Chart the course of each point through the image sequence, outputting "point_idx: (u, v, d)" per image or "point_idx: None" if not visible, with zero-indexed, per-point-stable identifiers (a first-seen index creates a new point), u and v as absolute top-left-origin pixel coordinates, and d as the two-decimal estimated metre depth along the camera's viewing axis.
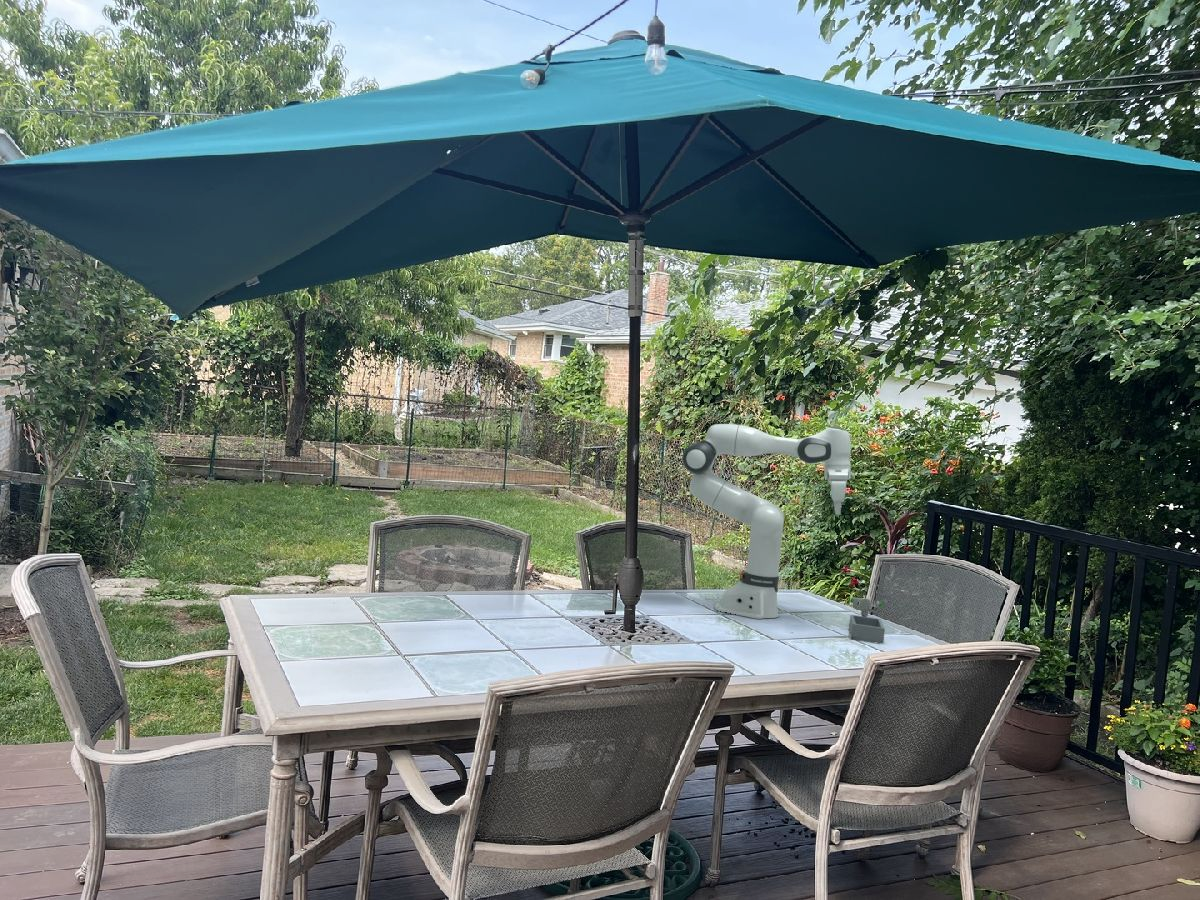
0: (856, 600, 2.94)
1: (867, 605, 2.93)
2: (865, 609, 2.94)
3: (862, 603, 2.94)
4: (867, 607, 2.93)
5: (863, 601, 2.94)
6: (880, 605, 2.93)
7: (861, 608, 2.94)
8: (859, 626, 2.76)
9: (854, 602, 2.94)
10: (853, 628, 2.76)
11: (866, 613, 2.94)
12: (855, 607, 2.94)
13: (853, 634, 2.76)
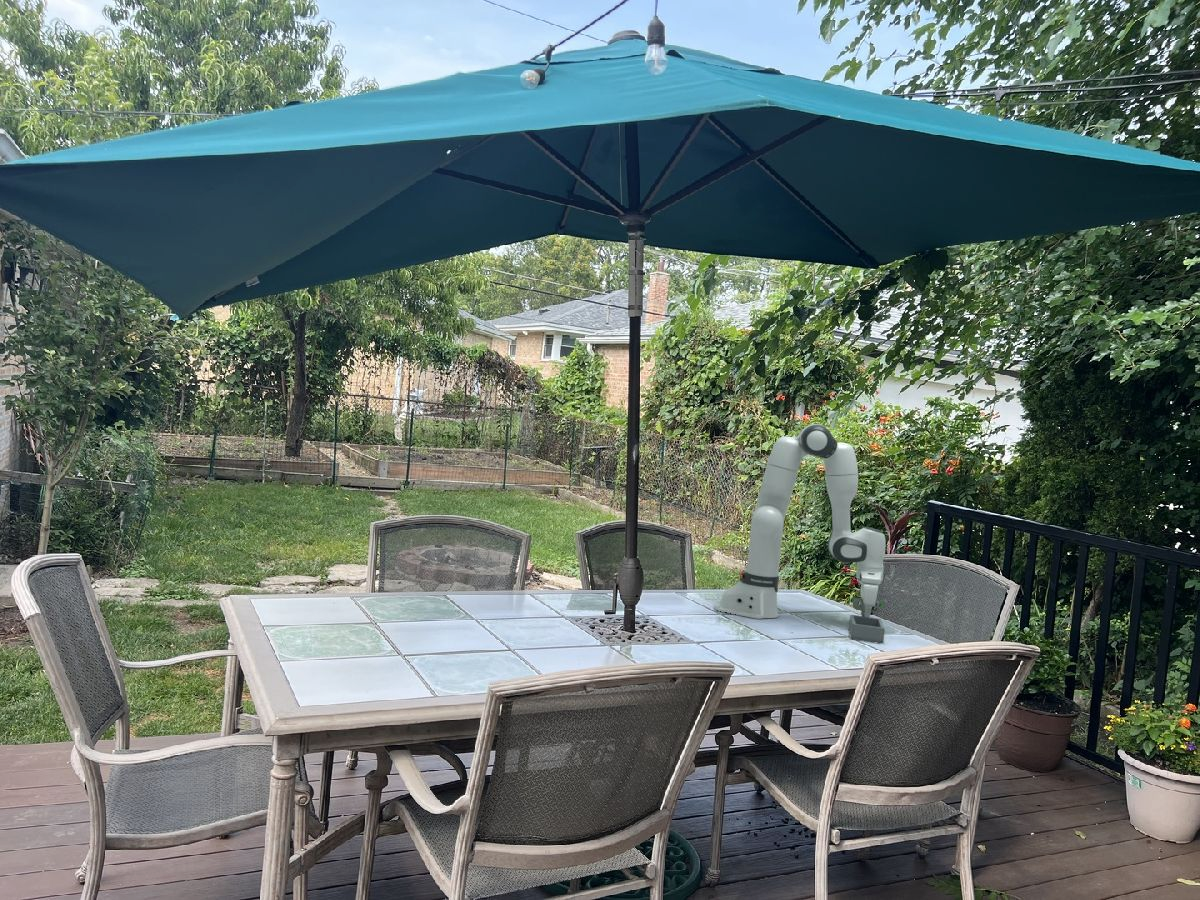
0: (856, 600, 2.94)
1: None
2: None
3: (862, 603, 2.94)
4: None
5: None
6: (880, 605, 2.93)
7: (861, 608, 2.94)
8: (859, 626, 2.76)
9: (854, 602, 2.94)
10: (853, 628, 2.76)
11: None
12: (855, 607, 2.94)
13: (853, 634, 2.76)
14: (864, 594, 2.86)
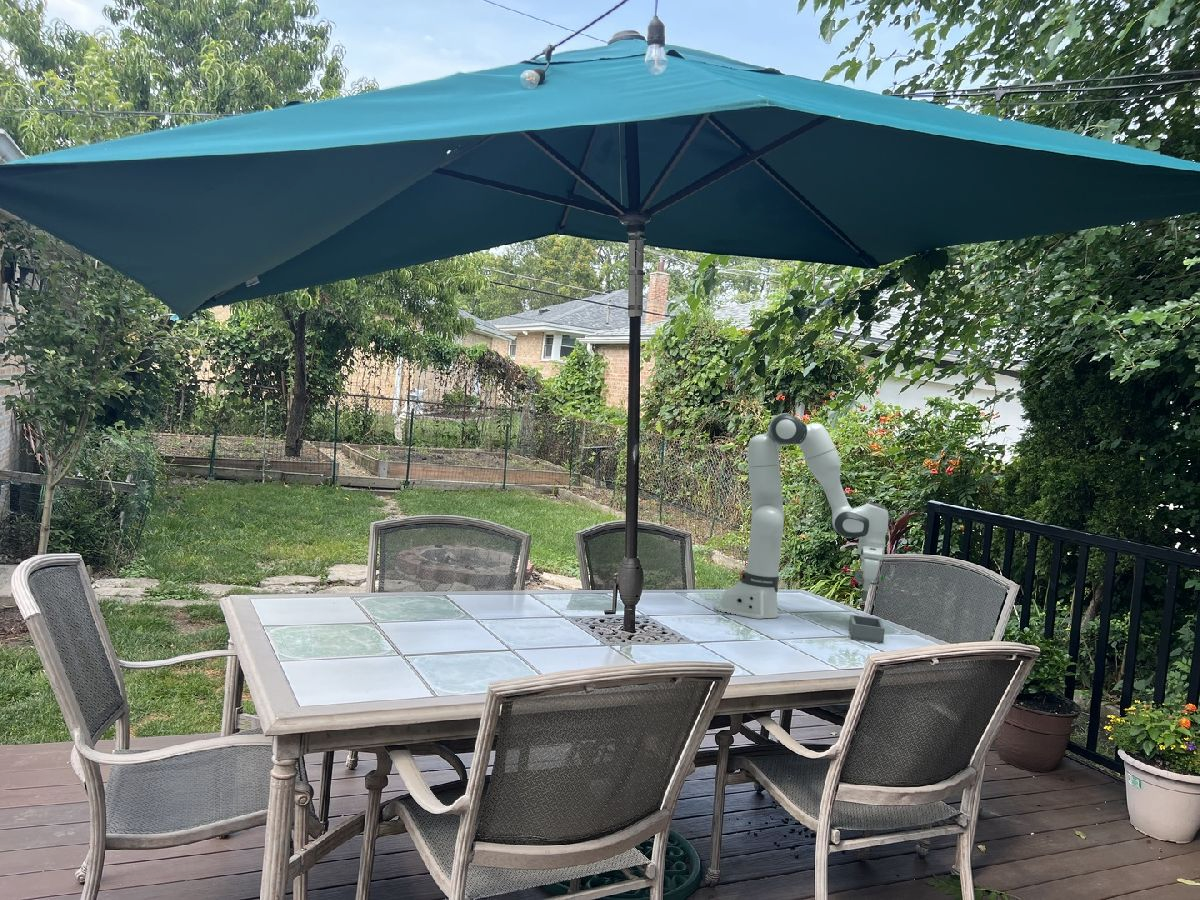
0: (858, 573, 2.94)
1: None
2: None
3: None
4: None
5: None
6: (882, 579, 2.93)
7: (863, 581, 2.94)
8: (859, 626, 2.76)
9: (856, 575, 2.94)
10: (853, 628, 2.76)
11: None
12: (857, 580, 2.94)
13: (853, 634, 2.76)
14: (865, 569, 2.85)
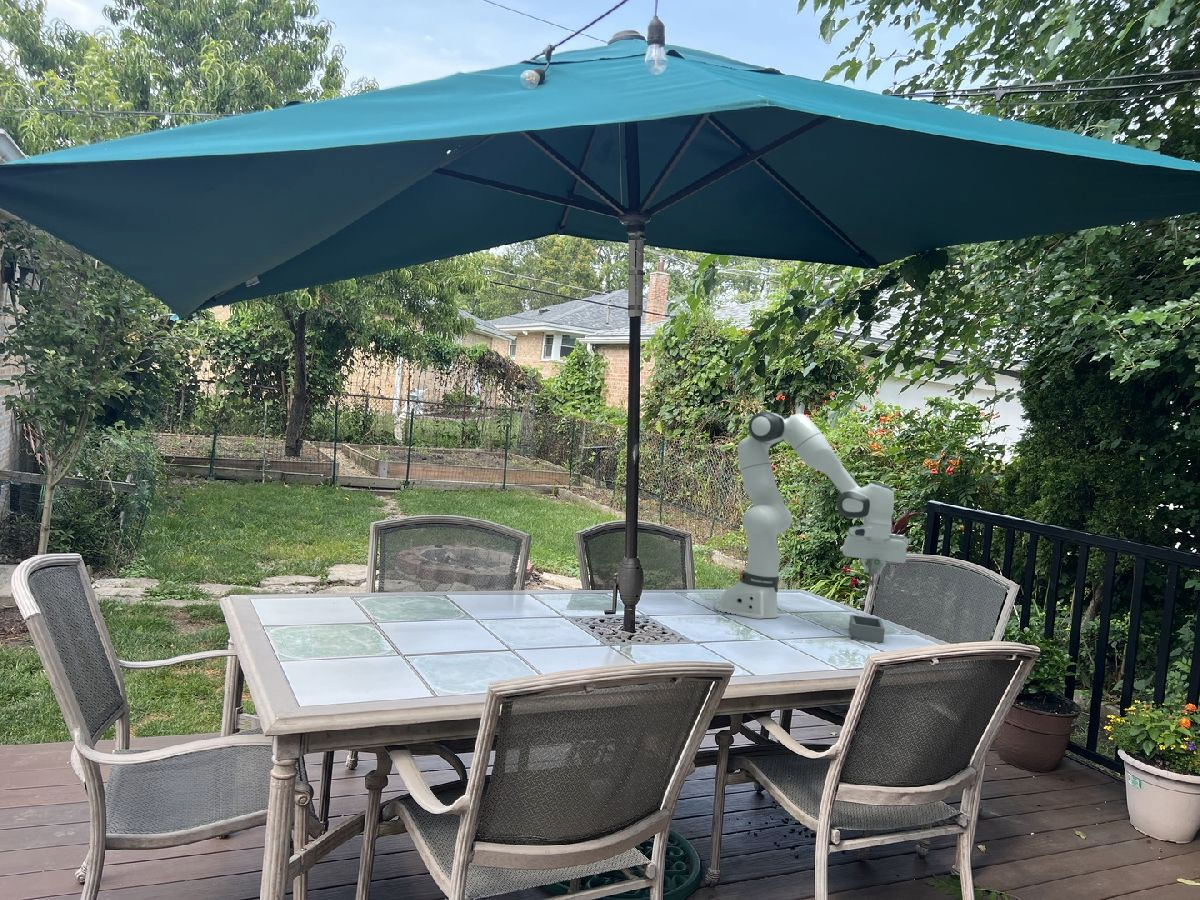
0: None
1: (869, 561, 2.82)
2: (868, 565, 2.83)
3: None
4: (869, 563, 2.82)
5: None
6: (874, 562, 2.78)
7: (868, 564, 2.84)
8: (859, 626, 2.76)
9: None
10: (853, 628, 2.76)
11: (869, 570, 2.82)
12: (867, 563, 2.86)
13: (853, 634, 2.76)
14: None
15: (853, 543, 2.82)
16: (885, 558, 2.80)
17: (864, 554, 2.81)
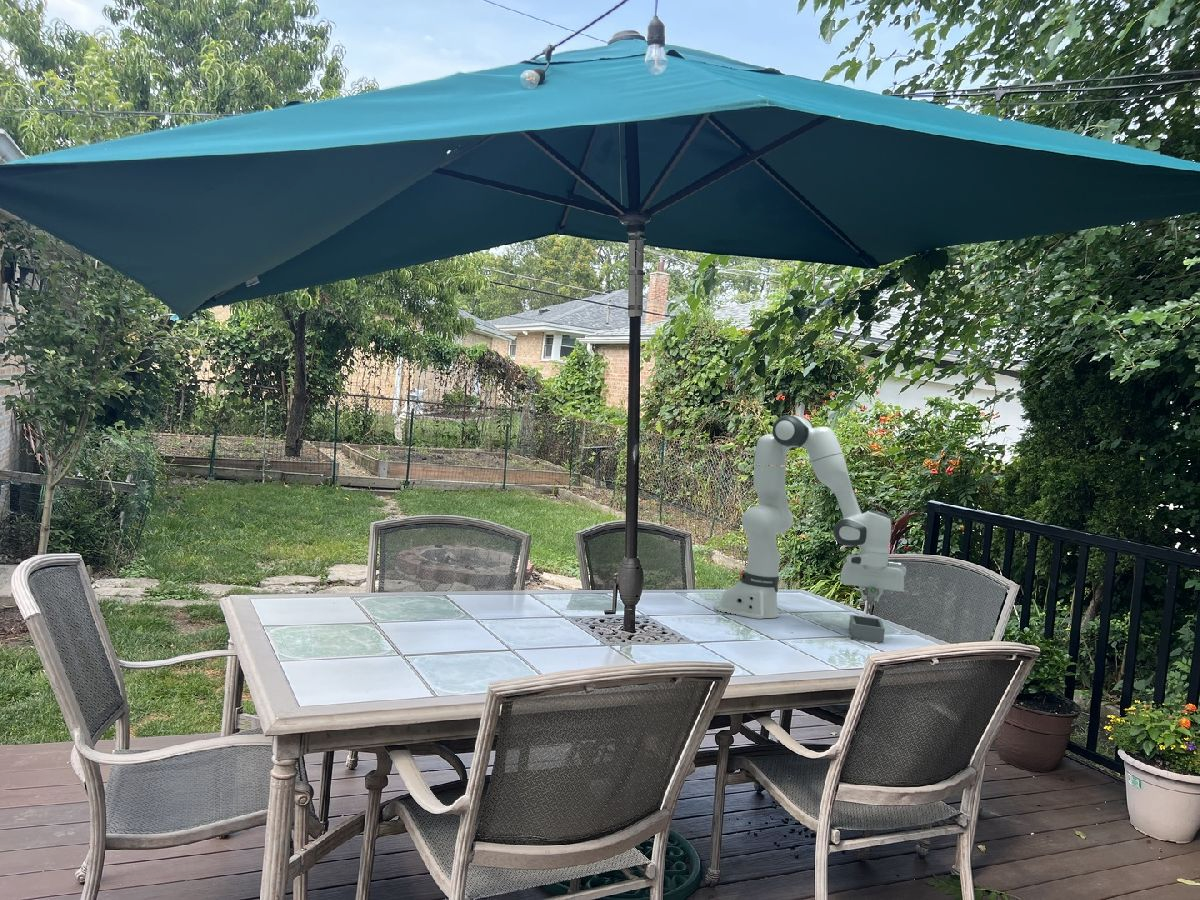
0: None
1: (867, 589, 2.81)
2: (866, 593, 2.82)
3: None
4: (866, 591, 2.81)
5: None
6: (870, 590, 2.77)
7: (866, 592, 2.83)
8: (859, 626, 2.76)
9: None
10: (853, 628, 2.76)
11: (867, 598, 2.82)
12: (865, 591, 2.85)
13: (853, 634, 2.76)
14: None
15: (850, 571, 2.82)
16: (882, 586, 2.79)
17: (861, 582, 2.81)
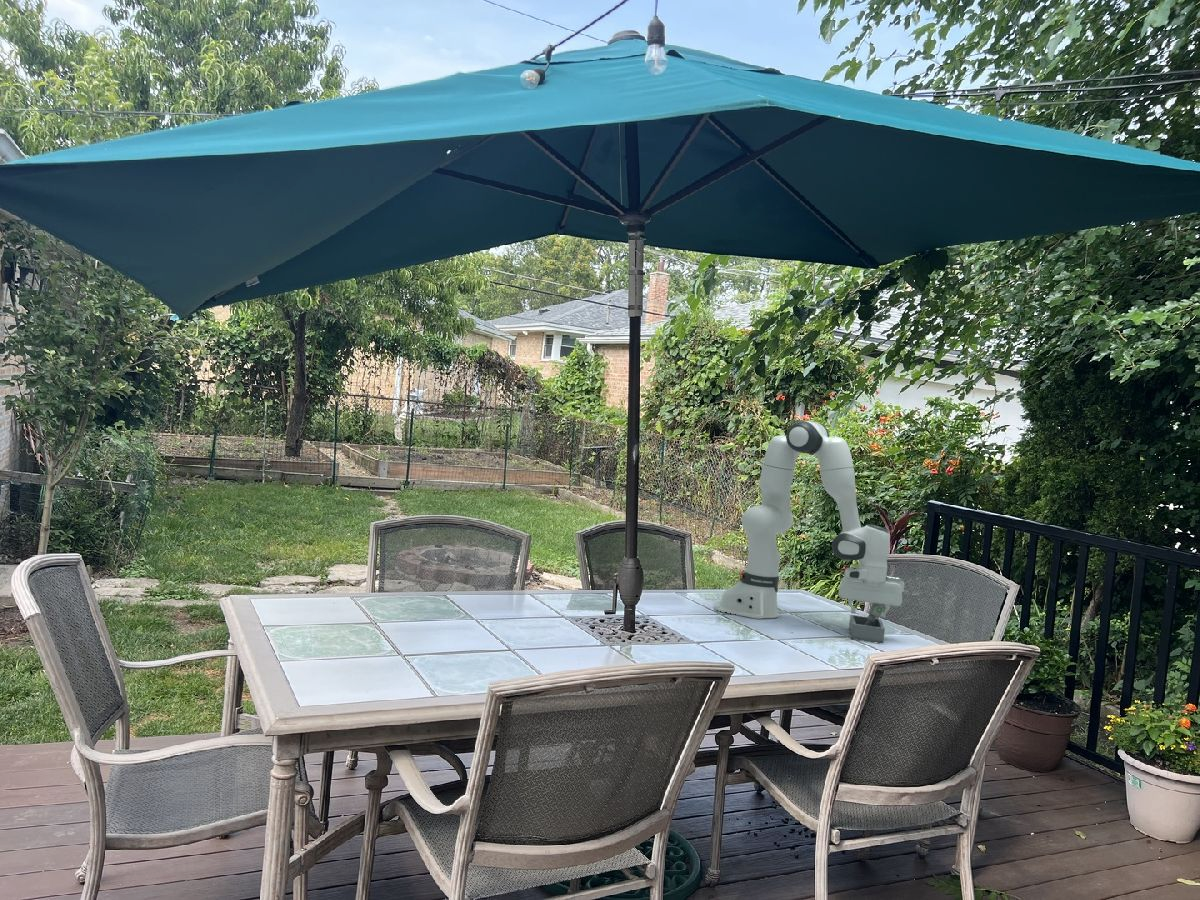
0: (872, 605, 2.86)
1: (872, 608, 2.83)
2: (869, 612, 2.83)
3: None
4: (871, 610, 2.83)
5: (873, 605, 2.84)
6: (876, 609, 2.78)
7: (869, 611, 2.85)
8: (859, 626, 2.76)
9: (871, 606, 2.87)
10: (853, 628, 2.76)
11: (868, 616, 2.83)
12: (869, 611, 2.86)
13: (853, 634, 2.76)
14: None
15: (848, 585, 2.82)
16: (880, 601, 2.80)
17: (859, 597, 2.81)
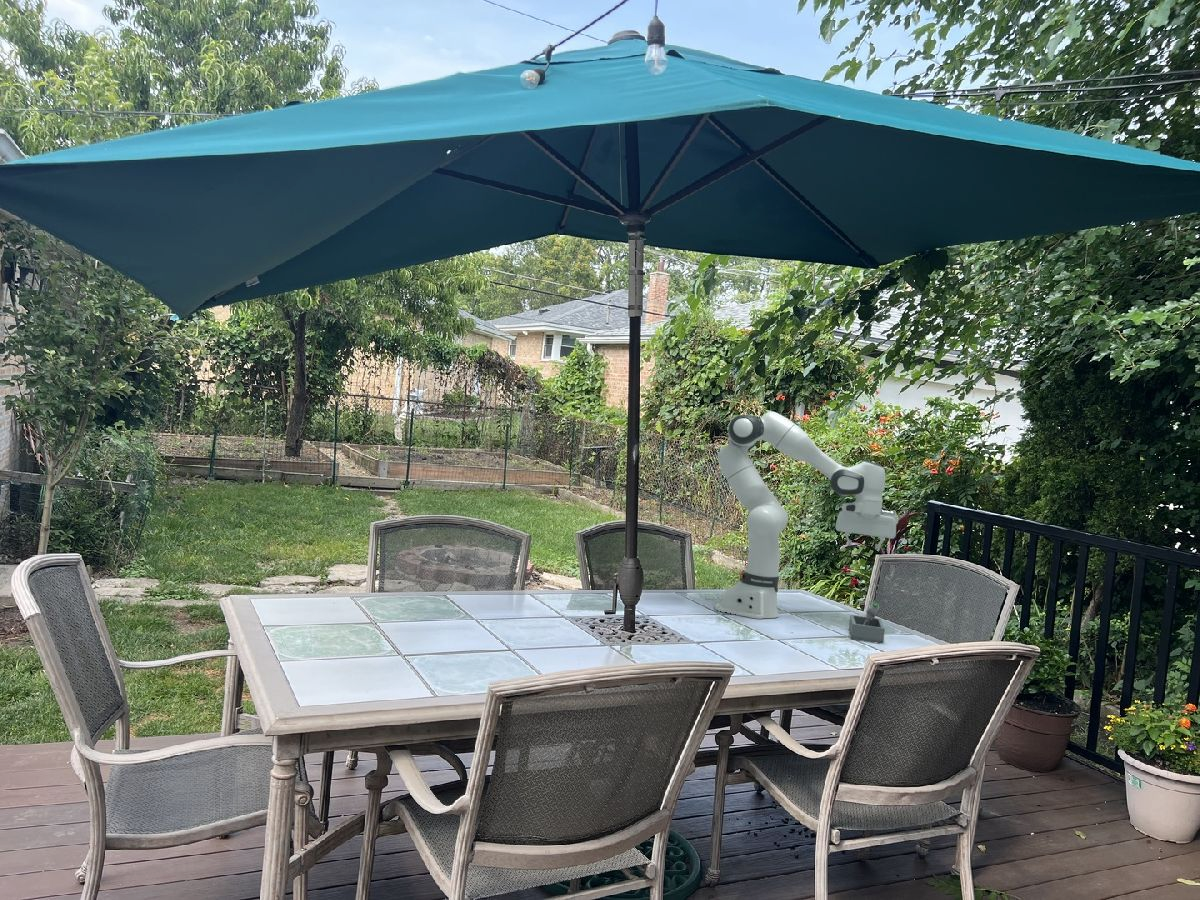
0: None
1: None
2: (867, 612, 2.85)
3: None
4: None
5: None
6: (873, 604, 2.81)
7: None
8: (859, 626, 2.76)
9: None
10: (853, 628, 2.76)
11: (866, 615, 2.84)
12: None
13: (853, 634, 2.76)
14: None
15: (844, 518, 2.95)
16: (875, 533, 2.93)
17: (855, 529, 2.95)
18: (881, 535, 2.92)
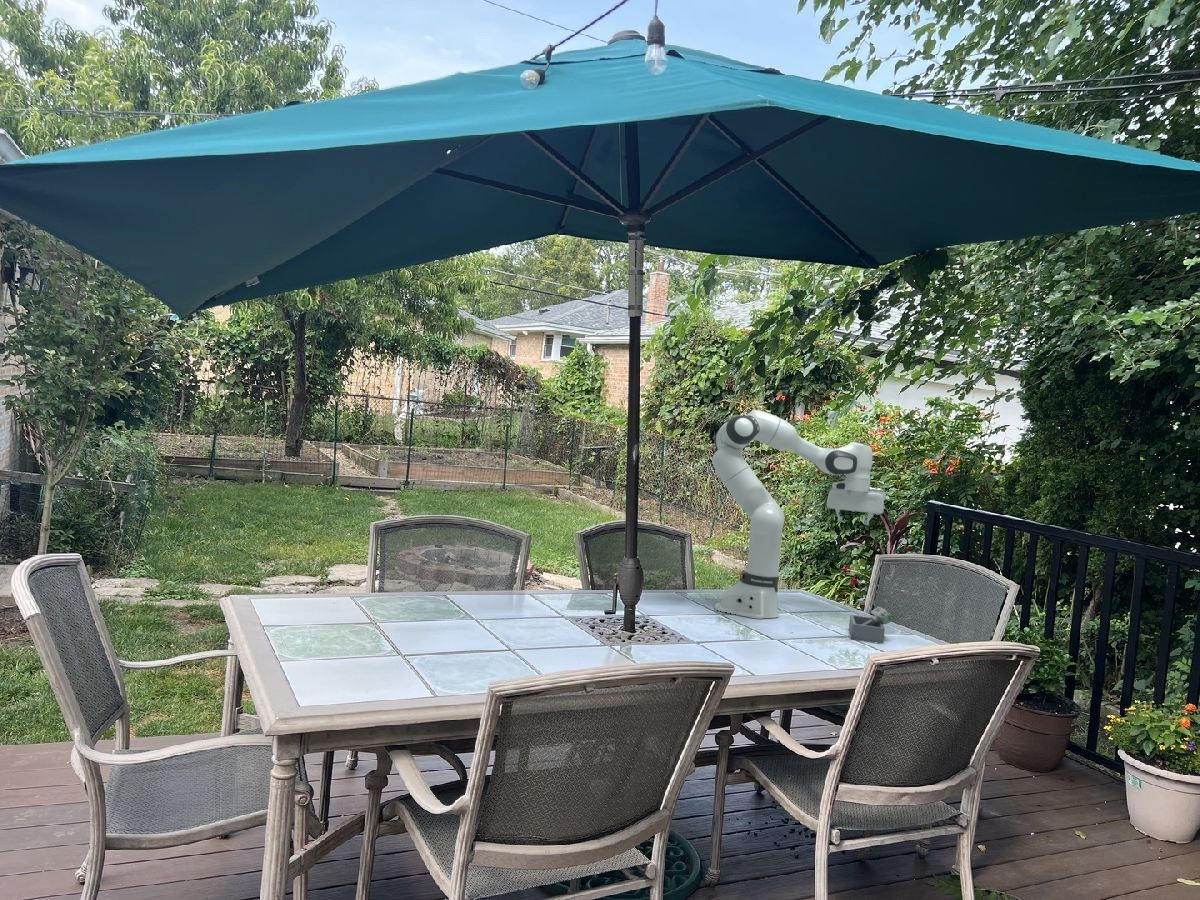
0: (878, 608, 2.87)
1: (881, 612, 2.83)
2: (876, 614, 2.83)
3: (880, 610, 2.85)
4: (879, 613, 2.83)
5: (882, 609, 2.85)
6: (889, 616, 2.79)
7: (875, 612, 2.85)
8: (859, 626, 2.76)
9: (876, 608, 2.87)
10: (853, 628, 2.76)
11: (874, 617, 2.83)
12: (872, 611, 2.87)
13: (853, 634, 2.76)
14: None
15: (835, 496, 3.12)
16: (864, 509, 3.10)
17: (845, 506, 3.12)
18: (870, 511, 3.10)
